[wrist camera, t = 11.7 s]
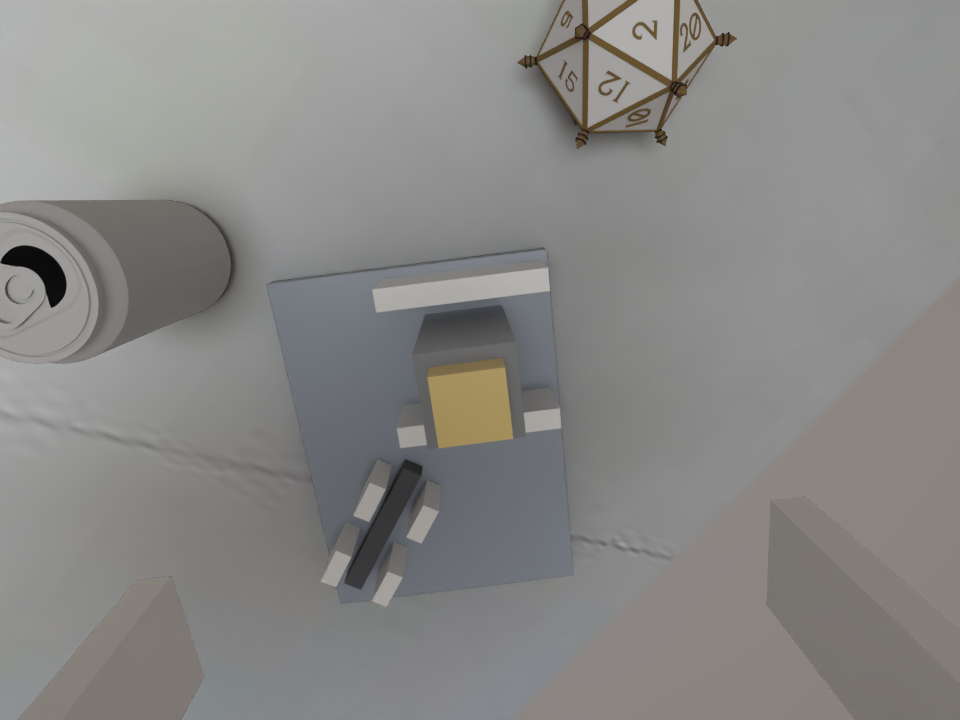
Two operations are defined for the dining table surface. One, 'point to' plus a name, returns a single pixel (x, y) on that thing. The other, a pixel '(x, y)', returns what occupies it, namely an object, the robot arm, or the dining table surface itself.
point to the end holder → (462, 288)
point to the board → (446, 471)
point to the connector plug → (468, 378)
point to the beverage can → (101, 274)
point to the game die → (624, 61)
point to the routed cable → (383, 524)
